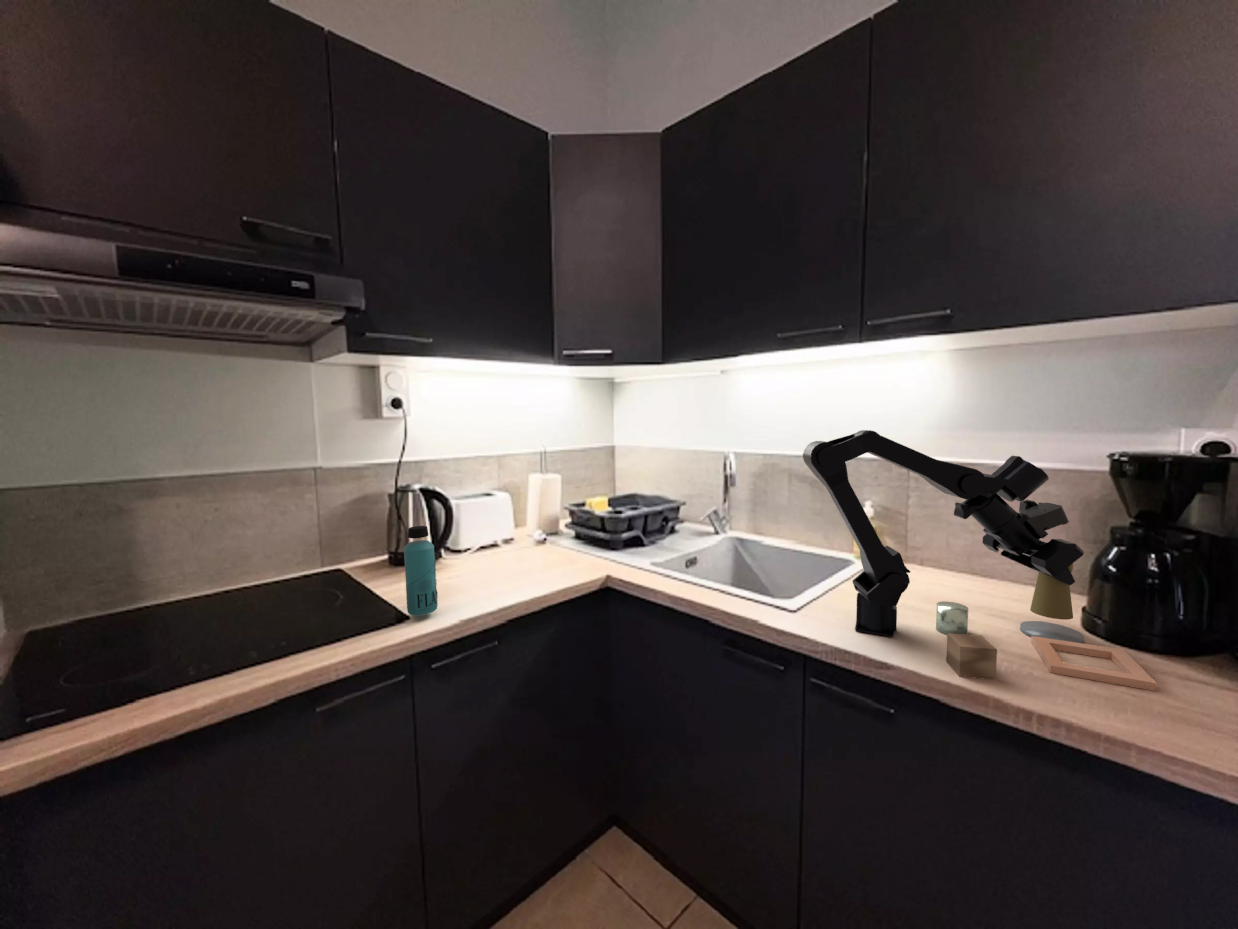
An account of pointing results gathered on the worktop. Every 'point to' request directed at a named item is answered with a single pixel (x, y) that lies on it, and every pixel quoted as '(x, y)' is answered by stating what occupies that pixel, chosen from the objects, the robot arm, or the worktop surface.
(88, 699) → the worktop surface
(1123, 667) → the hole frame
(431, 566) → the beverage bottle
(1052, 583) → the olive pepper mill
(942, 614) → the sage tin
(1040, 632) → the slate coaster
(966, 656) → the walnut block
